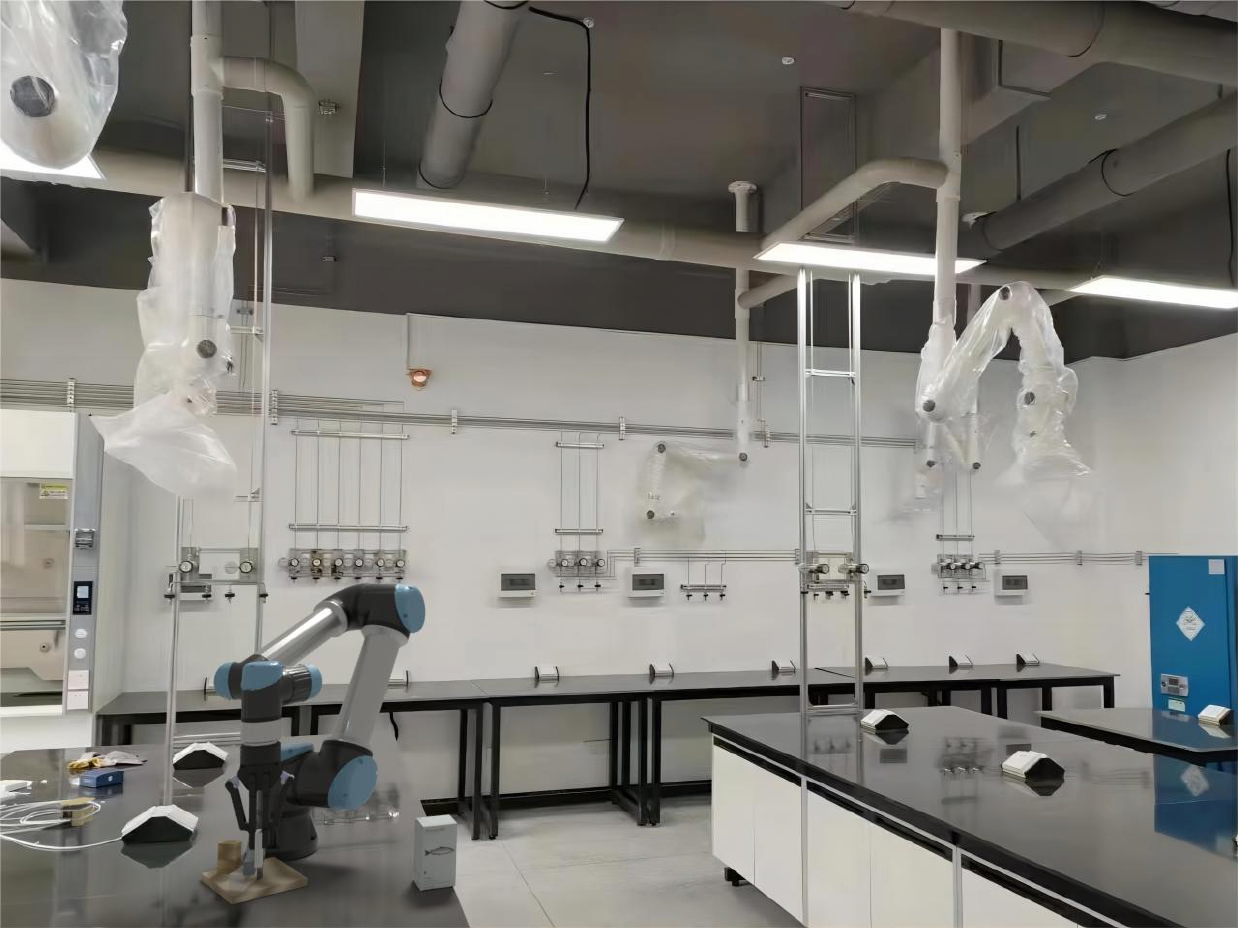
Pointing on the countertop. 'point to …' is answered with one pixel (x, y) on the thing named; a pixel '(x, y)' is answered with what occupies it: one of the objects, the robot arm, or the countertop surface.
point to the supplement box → (435, 852)
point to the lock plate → (262, 886)
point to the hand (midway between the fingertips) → (258, 865)
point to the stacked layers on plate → (77, 811)
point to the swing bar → (250, 862)
